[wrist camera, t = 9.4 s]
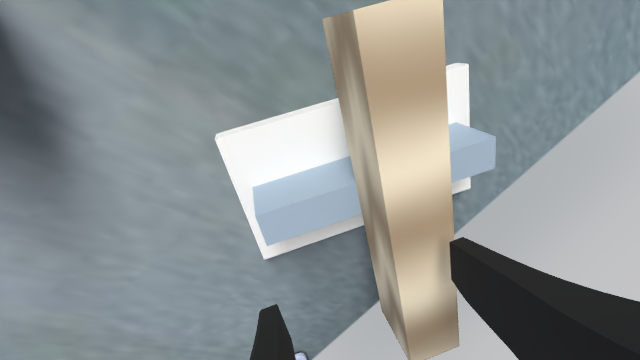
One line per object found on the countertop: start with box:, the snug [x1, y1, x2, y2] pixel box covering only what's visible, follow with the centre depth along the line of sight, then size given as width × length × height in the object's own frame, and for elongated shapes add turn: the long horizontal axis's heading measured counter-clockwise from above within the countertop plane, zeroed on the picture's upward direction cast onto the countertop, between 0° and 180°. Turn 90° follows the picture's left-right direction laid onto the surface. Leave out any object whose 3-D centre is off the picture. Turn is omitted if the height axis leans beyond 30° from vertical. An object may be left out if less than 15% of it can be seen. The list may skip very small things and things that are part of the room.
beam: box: [322, 0, 459, 360], centre depth 15 cm, size 18×3×4 cm, turn 14°
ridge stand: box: [215, 63, 496, 260], centre depth 19 cm, size 9×16×5 cm, turn 104°
